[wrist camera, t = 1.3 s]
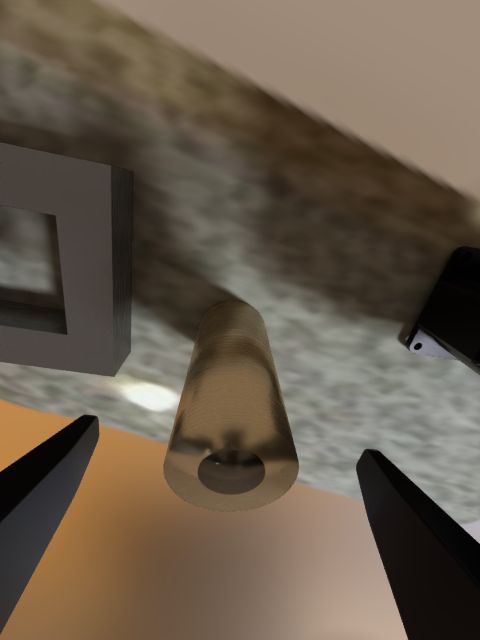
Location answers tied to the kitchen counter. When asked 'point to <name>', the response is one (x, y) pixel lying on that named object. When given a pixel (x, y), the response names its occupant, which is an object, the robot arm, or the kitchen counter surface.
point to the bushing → (231, 418)
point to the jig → (73, 262)
